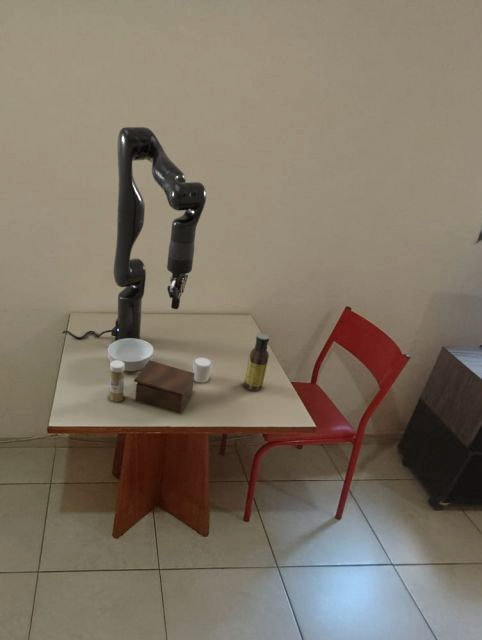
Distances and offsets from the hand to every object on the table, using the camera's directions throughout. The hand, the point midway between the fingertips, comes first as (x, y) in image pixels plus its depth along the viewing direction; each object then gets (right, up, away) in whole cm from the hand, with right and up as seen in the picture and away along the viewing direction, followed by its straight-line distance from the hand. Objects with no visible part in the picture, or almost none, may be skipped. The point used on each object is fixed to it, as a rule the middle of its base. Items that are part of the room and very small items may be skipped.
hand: (175, 308), depth 142 cm
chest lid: (-3, -23, +2) cm, 23 cm away
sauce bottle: (+28, -25, +13) cm, 40 cm away
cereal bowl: (-14, -18, +22) cm, 32 cm away
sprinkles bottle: (-19, -29, +5) cm, 35 cm away
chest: (-3, -28, +6) cm, 29 cm away
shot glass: (+11, -22, +16) cm, 30 cm away
